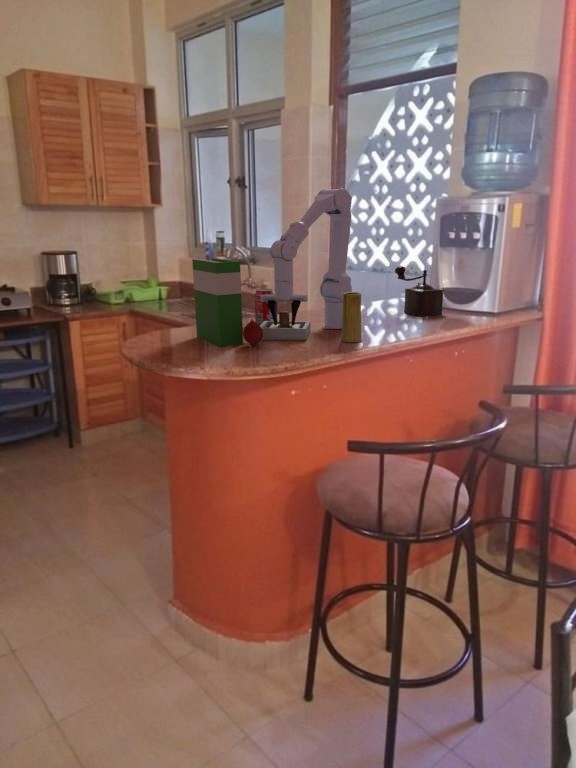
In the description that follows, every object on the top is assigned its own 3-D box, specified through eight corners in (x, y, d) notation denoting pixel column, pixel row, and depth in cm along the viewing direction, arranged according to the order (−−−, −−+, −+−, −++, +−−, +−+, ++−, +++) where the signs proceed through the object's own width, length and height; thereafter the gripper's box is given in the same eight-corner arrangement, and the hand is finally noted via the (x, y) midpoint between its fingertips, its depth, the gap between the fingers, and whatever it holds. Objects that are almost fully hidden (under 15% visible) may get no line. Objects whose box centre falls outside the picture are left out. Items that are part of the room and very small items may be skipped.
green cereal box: (197, 337, 178) (192, 259, 171) (218, 334, 181) (214, 258, 175) (220, 347, 163) (216, 262, 157) (243, 344, 167) (240, 261, 160)
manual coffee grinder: (424, 310, 221) (427, 264, 216) (442, 315, 211) (445, 266, 206) (391, 313, 215) (392, 265, 210) (407, 318, 205) (410, 267, 200)
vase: (348, 344, 165) (349, 295, 161) (337, 340, 170) (337, 292, 166) (365, 341, 168) (366, 293, 164) (354, 338, 173) (354, 291, 169)
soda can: (276, 322, 202) (275, 288, 198) (273, 325, 195) (273, 290, 192) (256, 322, 202) (255, 288, 199) (253, 325, 196) (252, 290, 192)
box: (310, 332, 183) (310, 321, 182) (306, 340, 170) (306, 328, 169) (264, 331, 185) (264, 320, 184) (257, 340, 172) (256, 328, 171)
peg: (290, 333, 179) (290, 311, 177) (288, 335, 176) (288, 312, 174) (280, 333, 179) (279, 311, 177) (278, 335, 176) (278, 312, 174)
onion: (266, 344, 166) (265, 317, 164) (259, 348, 161) (258, 320, 158) (248, 343, 168) (247, 316, 165) (240, 347, 162) (239, 320, 160)
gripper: (257, 282, 170) (259, 326, 174) (305, 282, 168) (306, 327, 172) (262, 279, 176) (263, 322, 180) (308, 279, 174) (308, 323, 178)
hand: (284, 324), depth 176 cm, fingers open, 5 cm apart
